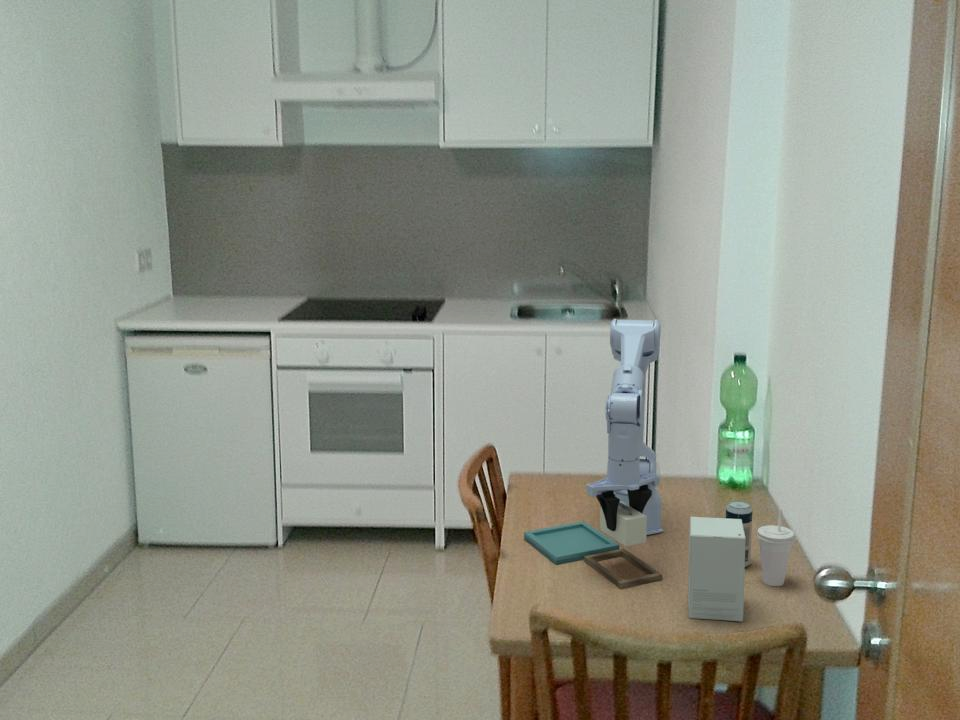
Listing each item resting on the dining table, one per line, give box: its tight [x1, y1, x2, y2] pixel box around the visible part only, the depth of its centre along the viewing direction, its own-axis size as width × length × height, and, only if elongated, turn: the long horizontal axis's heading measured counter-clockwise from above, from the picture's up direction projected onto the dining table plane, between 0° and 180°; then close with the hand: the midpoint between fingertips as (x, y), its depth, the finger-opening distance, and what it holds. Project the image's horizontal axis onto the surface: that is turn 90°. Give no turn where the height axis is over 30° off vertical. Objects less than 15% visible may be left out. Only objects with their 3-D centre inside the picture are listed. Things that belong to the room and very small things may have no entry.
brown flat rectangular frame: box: [583, 548, 663, 589], centre depth 176 cm, size 9×13×1 cm, turn 23°
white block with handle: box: [599, 501, 647, 547], centre depth 174 cm, size 4×9×6 cm, turn 23°
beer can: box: [725, 500, 753, 568], centre depth 177 cm, size 5×5×12 cm
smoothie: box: [756, 507, 795, 587], centre depth 169 cm, size 6×6×14 cm
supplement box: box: [687, 516, 746, 622], centre depth 159 cm, size 9×9×15 cm
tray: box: [523, 520, 620, 566], centre depth 188 cm, size 14×14×2 cm
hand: (622, 527), depth 174 cm, fingers closed on white block with handle, 4 cm apart
